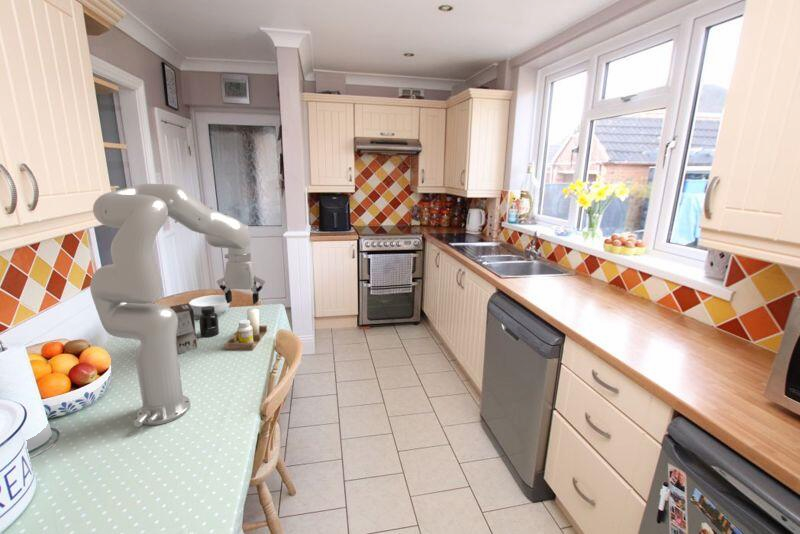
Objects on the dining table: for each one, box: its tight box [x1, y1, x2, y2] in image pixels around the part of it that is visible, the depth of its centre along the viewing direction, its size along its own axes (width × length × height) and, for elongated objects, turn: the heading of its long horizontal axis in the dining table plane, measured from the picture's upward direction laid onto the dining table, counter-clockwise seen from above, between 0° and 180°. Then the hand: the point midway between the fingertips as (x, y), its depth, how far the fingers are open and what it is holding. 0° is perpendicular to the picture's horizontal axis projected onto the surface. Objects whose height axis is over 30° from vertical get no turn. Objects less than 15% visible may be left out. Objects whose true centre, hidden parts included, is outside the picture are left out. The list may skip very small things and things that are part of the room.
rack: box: [224, 325, 268, 352], centre depth 149 cm, size 18×10×3 cm, turn 2°
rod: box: [246, 307, 260, 334], centre depth 151 cm, size 4×4×11 cm
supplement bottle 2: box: [236, 319, 253, 343], centre depth 144 cm, size 5×5×10 cm
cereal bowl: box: [188, 294, 231, 316], centre depth 174 cm, size 17×17×7 cm
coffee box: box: [169, 302, 198, 354], centre depth 140 cm, size 9×6×16 cm
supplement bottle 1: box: [198, 306, 220, 339], centre depth 152 cm, size 7×7×12 cm
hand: (242, 302), depth 140 cm, fingers open, 9 cm apart
